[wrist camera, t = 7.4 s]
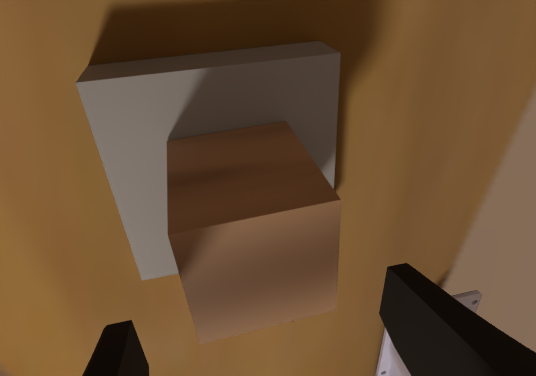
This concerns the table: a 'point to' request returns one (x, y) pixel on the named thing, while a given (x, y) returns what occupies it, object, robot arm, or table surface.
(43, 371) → the table surface
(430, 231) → the table surface
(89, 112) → the grey box
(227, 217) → the walnut block
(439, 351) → the robot arm
